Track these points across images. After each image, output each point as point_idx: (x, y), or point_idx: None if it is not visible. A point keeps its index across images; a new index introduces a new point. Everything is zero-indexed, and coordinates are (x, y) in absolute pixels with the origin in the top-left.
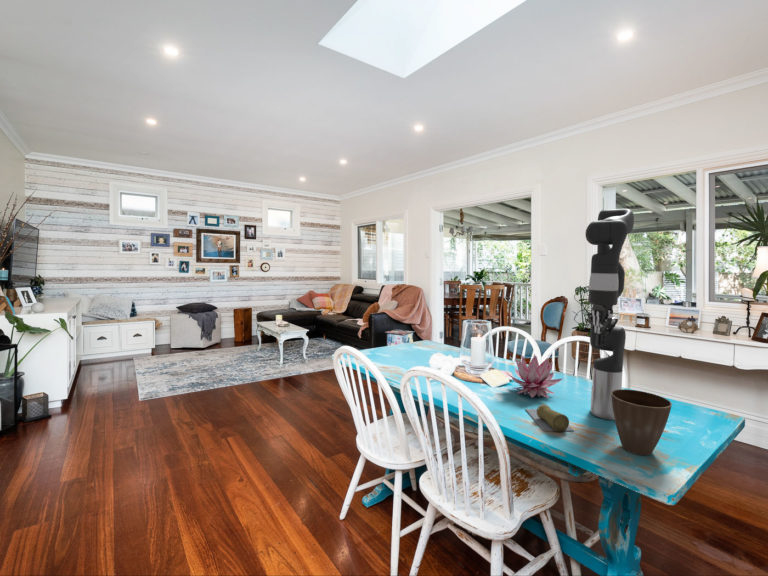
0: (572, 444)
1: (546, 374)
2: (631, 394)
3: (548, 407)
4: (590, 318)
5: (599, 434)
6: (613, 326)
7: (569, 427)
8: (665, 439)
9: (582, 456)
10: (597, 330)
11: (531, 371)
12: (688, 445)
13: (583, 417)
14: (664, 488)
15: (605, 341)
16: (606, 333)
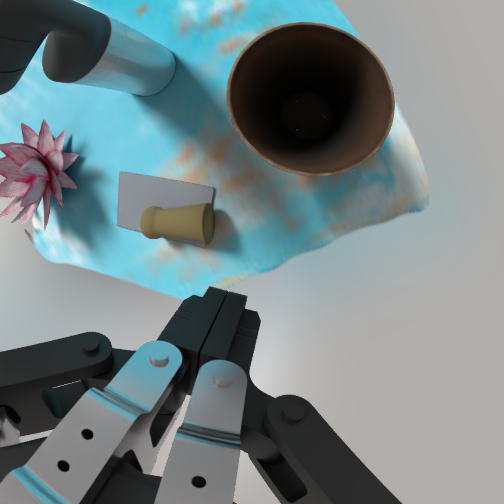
0: (266, 229)
1: (30, 151)
2: (241, 67)
3: (153, 221)
4: (29, 429)
5: (233, 141)
6: (371, 485)
7: (199, 188)
8: (273, 27)
9: (311, 242)
10: (177, 414)
11: (33, 199)
12: (302, 10)
13: (154, 122)
14: (419, 189)
15: (239, 315)
16: (268, 401)
